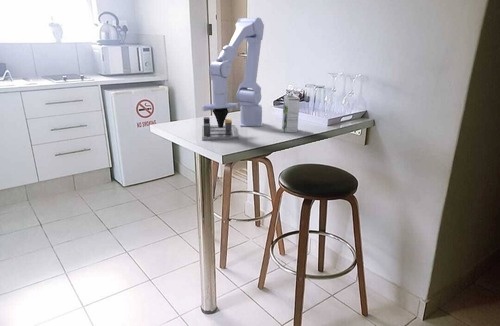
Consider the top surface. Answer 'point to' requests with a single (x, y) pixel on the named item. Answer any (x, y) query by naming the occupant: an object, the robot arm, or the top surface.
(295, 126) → the syrup box
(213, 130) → the panel
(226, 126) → the toggle
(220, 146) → the top surface
